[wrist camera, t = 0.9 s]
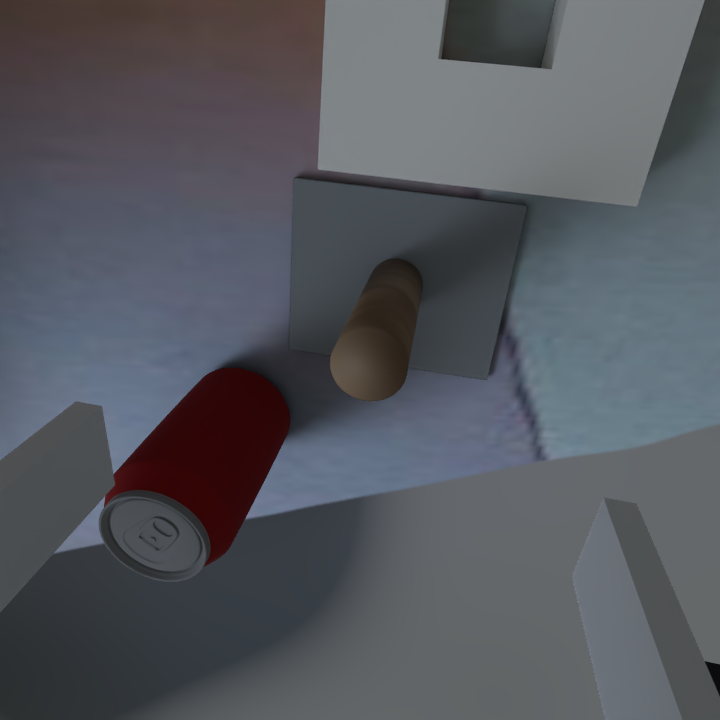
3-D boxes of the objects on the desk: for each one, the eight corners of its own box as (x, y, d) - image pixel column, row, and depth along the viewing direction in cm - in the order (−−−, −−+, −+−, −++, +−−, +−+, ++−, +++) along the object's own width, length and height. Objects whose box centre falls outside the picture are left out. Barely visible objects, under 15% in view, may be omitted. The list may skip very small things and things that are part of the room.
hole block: (333, 161, 27) (317, 169, 24) (356, -219, 20) (339, -276, 17) (614, 193, 25) (637, 206, 22) (736, -206, 19) (792, -266, 16)
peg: (366, 306, 29) (327, 394, 21) (371, 254, 28) (332, 325, 19) (419, 314, 29) (402, 406, 20) (426, 262, 28) (412, 337, 19)
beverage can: (179, 404, 35) (61, 533, 25) (232, 341, 32) (124, 457, 22) (256, 464, 37) (175, 611, 26) (314, 408, 34) (249, 549, 23)
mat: (290, 346, 32) (288, 349, 32) (295, 177, 27) (293, 178, 27) (486, 377, 31) (486, 380, 30) (526, 204, 26) (527, 206, 26)
